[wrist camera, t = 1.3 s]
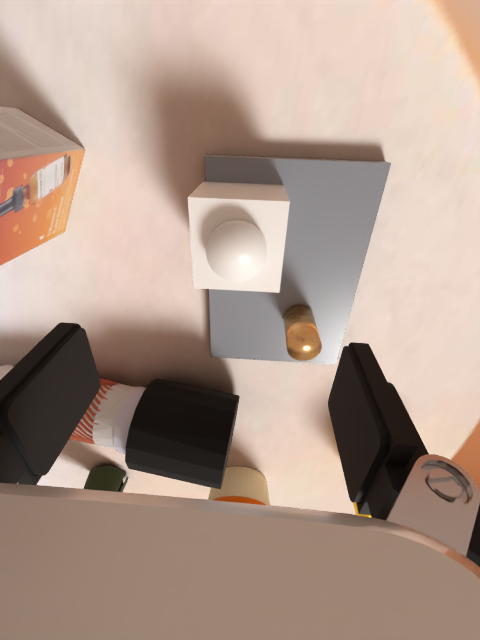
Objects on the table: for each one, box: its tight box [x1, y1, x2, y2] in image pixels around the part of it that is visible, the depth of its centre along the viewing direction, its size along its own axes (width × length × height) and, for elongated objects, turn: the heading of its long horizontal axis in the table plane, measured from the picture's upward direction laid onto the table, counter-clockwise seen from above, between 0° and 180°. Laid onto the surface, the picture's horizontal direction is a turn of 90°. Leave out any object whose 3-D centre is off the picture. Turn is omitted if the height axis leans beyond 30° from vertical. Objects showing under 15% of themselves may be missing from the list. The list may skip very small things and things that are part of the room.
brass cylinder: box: [283, 304, 322, 361], centre depth 28 cm, size 3×3×5 cm
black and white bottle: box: [0, 365, 239, 490], centre depth 36 cm, size 10×34×10 cm
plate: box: [205, 155, 391, 364], centre depth 29 cm, size 20×14×1 cm
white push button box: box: [188, 182, 290, 293], centre depth 22 cm, size 6×6×7 cm
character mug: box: [84, 466, 128, 492], centre depth 45 cm, size 11×7×13 cm, turn 10°
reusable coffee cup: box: [208, 466, 270, 506], centre depth 44 cm, size 13×13×15 cm
